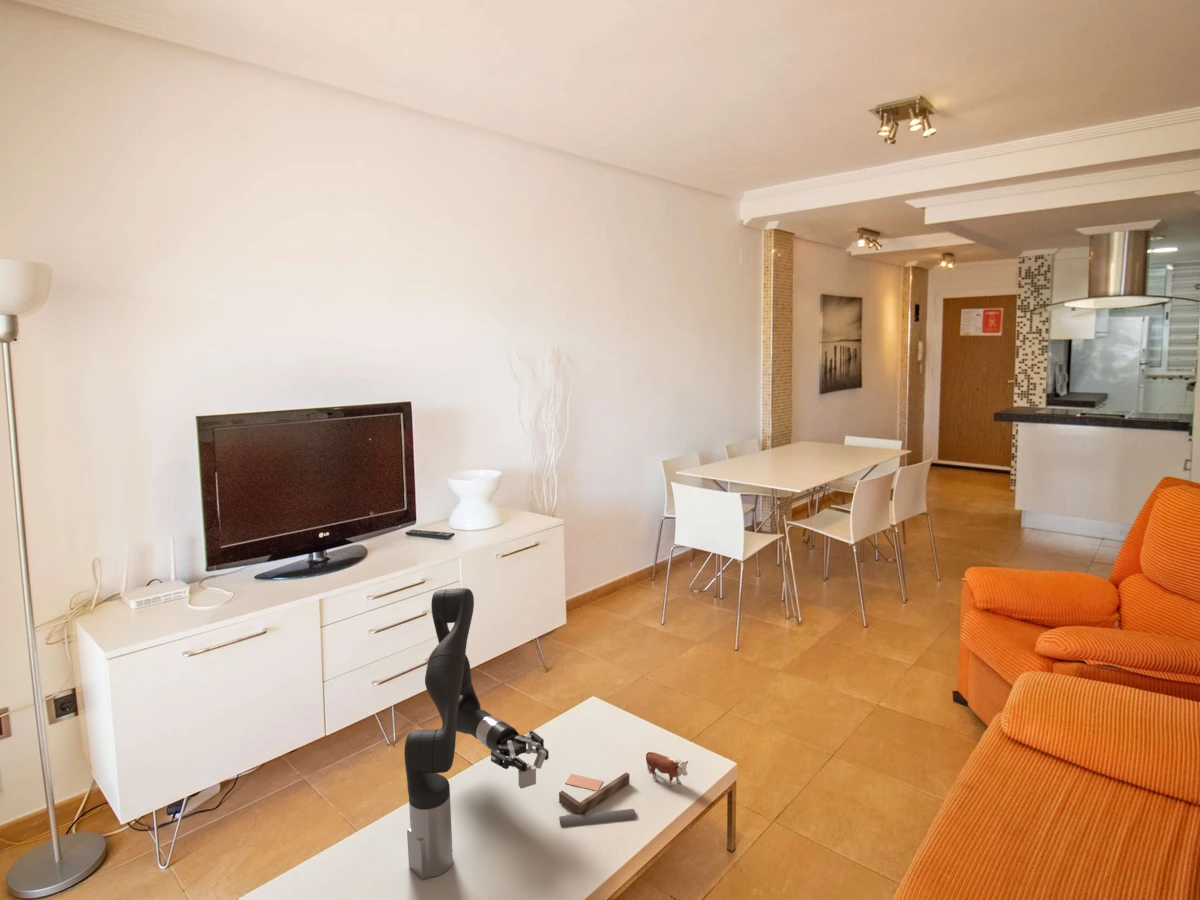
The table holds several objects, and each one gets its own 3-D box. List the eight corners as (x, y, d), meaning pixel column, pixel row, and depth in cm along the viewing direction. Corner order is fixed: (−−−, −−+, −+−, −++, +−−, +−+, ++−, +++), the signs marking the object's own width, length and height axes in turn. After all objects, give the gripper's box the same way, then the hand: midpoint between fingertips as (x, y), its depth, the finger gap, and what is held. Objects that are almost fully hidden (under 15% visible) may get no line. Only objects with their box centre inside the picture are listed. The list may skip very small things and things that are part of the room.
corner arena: (579, 817, 177) (579, 806, 177) (559, 802, 183) (559, 792, 182) (629, 784, 190) (629, 774, 190) (608, 771, 196) (608, 761, 195)
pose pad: (597, 791, 187) (597, 790, 187) (565, 783, 191) (565, 783, 190) (603, 781, 191) (603, 781, 191) (571, 774, 195) (571, 773, 195)
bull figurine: (684, 795, 186) (685, 768, 184) (643, 776, 194) (643, 750, 192) (692, 787, 189) (693, 760, 188) (651, 768, 197) (651, 742, 196)
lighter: (520, 788, 171) (520, 759, 170) (518, 784, 173) (517, 755, 172) (547, 780, 175) (546, 751, 173) (544, 776, 176) (544, 747, 175)
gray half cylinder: (636, 822, 176) (636, 815, 176) (560, 830, 173) (560, 824, 173) (633, 811, 180) (633, 805, 180) (558, 818, 178) (558, 812, 177)
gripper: (473, 732, 178) (513, 760, 166) (517, 711, 188) (558, 736, 177) (474, 759, 179) (514, 788, 168) (518, 737, 189) (558, 763, 178)
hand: (536, 761), depth 172 cm, fingers closed on lighter, 6 cm apart
